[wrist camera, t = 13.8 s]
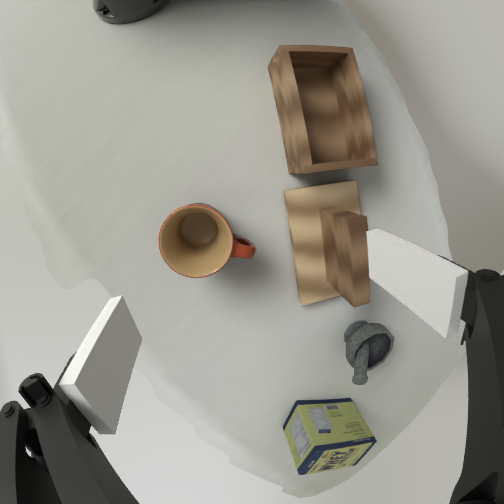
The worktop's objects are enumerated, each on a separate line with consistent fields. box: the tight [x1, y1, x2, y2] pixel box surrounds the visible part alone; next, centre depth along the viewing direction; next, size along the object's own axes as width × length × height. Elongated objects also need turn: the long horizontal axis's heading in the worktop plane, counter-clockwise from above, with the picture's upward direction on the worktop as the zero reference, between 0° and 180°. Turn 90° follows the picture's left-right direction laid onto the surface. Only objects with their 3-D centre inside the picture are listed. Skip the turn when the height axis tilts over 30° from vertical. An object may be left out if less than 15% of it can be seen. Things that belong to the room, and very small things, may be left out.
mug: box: [159, 203, 256, 278], centre depth 36 cm, size 12×9×10 cm
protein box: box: [283, 398, 377, 475], centre depth 50 cm, size 10×16×16 cm
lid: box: [284, 180, 370, 307], centre depth 39 cm, size 19×12×12 cm, turn 10°
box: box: [268, 45, 378, 174], centre depth 35 cm, size 18×11×8 cm, turn 10°
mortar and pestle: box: [344, 321, 394, 385], centre depth 46 cm, size 11×9×12 cm
